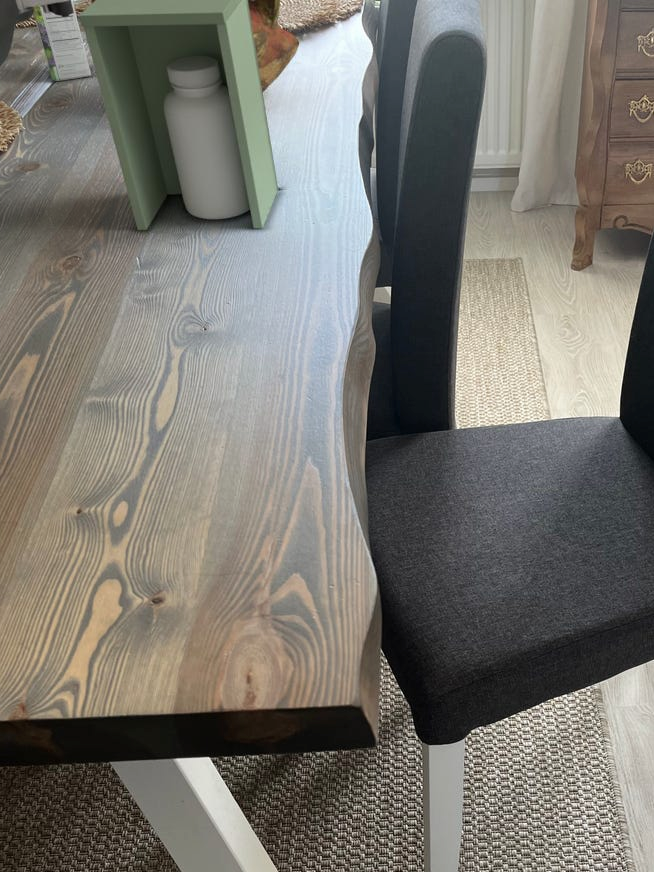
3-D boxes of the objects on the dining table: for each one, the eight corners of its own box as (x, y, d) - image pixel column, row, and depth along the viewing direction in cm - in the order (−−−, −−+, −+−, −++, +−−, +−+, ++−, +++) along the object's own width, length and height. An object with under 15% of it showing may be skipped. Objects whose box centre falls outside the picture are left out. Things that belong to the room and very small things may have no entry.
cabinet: (261, 230, 111) (223, 12, 96) (136, 232, 111) (78, 15, 96) (279, 187, 119) (245, -19, 104) (162, 189, 120) (112, -16, 105)
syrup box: (49, 71, 154) (16, -41, 143) (89, 66, 155) (59, -46, 145) (53, 82, 150) (19, -33, 140) (94, 76, 151) (63, -38, 141)
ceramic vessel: (116, 97, 144) (60, -119, 127) (294, 75, 150) (264, -135, 132) (125, 136, 133) (65, -95, 115) (317, 111, 138) (289, -114, 120)
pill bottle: (212, 227, 112) (180, 79, 101) (172, 208, 116) (138, 63, 105) (270, 206, 116) (245, 61, 105) (230, 187, 120) (202, 46, 109)
